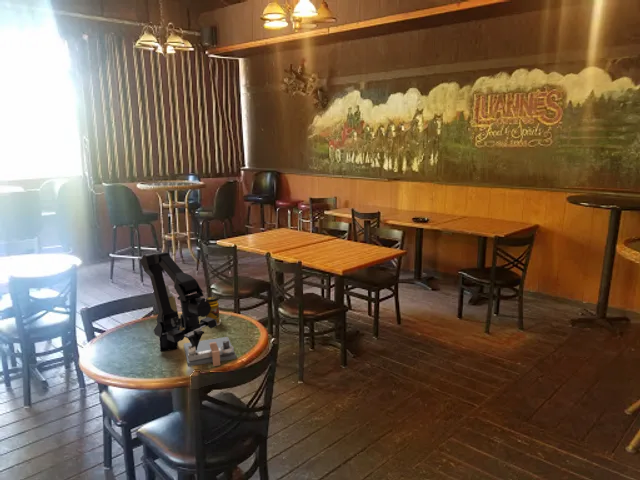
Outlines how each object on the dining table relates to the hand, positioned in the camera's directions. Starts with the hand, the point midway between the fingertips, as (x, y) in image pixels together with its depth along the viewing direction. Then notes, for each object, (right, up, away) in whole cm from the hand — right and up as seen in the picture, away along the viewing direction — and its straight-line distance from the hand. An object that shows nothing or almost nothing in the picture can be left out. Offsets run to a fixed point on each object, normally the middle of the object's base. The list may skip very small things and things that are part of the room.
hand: (195, 350), depth 191 cm
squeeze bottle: (-22, +4, +41) cm, 47 cm away
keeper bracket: (+7, -4, 0) cm, 8 cm away
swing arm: (+6, -2, 0) cm, 6 cm away
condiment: (-3, +4, +40) cm, 40 cm away
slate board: (+4, -2, +7) cm, 8 cm away
